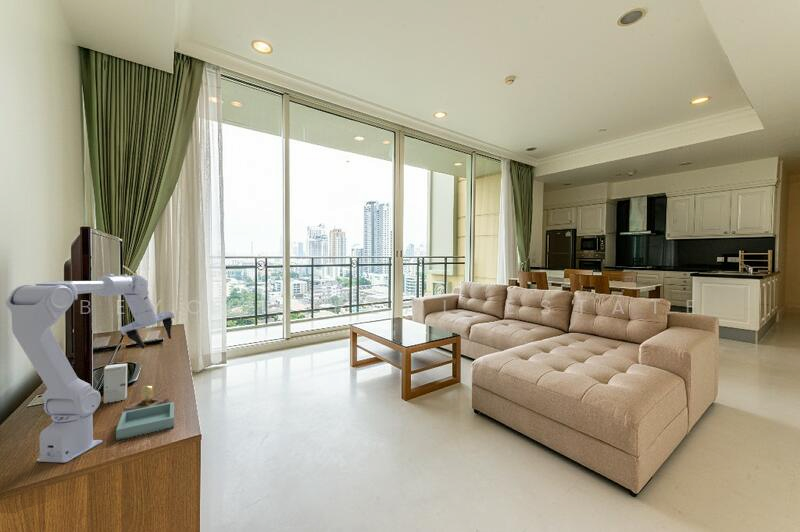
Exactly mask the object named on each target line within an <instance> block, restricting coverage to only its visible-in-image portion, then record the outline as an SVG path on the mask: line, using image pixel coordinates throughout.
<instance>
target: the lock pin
mask: <svg viewBox="0 0 800 532" xmlns="http://www.w3.org/2000/svg"><path fill="white" fill-rule="evenodd" d="M152 397H153V384H147V385H142V386H141V387H140V398H141V399H140V400H141V406H149V405H151V404H152V403H153V402H152Z"/></svg>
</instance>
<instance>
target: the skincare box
mask: <svg viewBox="0 0 800 532" xmlns="http://www.w3.org/2000/svg"><path fill="white" fill-rule="evenodd" d="M127 397H128V363H127V362H125V363H116V364H110V365H109V364H108V365H105V366H104V369H103V404H108V402H109V403H115V401H116V402H121V400H122V401H125V400H126V399H127Z"/></svg>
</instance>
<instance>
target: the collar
mask: <svg viewBox="0 0 800 532" xmlns="http://www.w3.org/2000/svg"><path fill="white" fill-rule="evenodd" d="M169 399H170V398H169V397H153V396H152V402H153V403H152V404H151V405H149V406H141V399H139V400H137V401H135V402H133V403H131V404H129V405H127V406H125V407H123V412H125V411H130V410H135V409H140V408H145V407H150V406H156V405H161V404H166V403H170V400H169Z"/></svg>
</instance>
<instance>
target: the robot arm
mask: <svg viewBox="0 0 800 532" xmlns="http://www.w3.org/2000/svg"><path fill="white" fill-rule="evenodd" d="M148 288H149V281H148V280H147V279H145V278H144V277H143V276H141V275H128V274H124V273H123V274H121V275H115V274H114V273H106V274H105V275H102V276H100V277H98V278H97V279H96V280H59V281H49V282H40V283H34V285H32V284H23V285H19V286H18V287H16V288H14V289H13V290H12V292H11V293H10V295H9V296H8V298H7V299H6V302H5V305H6V306H7V309H8V310H9V311H10V315H11V331H12V334H13V336H14V338H15V339H16V340H17V342H18V343H19V345H20V347H21V348H22V350H23V352H24V353H25V355H26V356H27V358H28V360H29V361H30V363H31V365H32V366H33V368H34V369H35V371H36V372H37V374H38V375H39V377H40V379H41V381H42V382H43V384H44V385H45V387H46V390H45V391H44V392H43V394H42V395H41V399H42V401H43V410H44V413H46V415H48V416H50V420H52V422H51V424H49V425H48V426H47V427H45V428H43V429H42V430H41V432H40V434H39V438H38V439H39V440H38V441H39V444H38V445H39V457H38V458H37V459H36V461H37V462H41V463H42V462H43V463H44V462H47V463H63V464H64V463H68V462H70V461H72V460H74V458H76V457H77V458H78V457H79V456H80V455H82V454H84V453H86V452H88V451H89V450H91V449H93V448H95V447H96V446H98V445H100V444H101V443H103V440H102V439H94V431H93V429H94V425H93V424H94V423H93V422H94V421H93V419H94V417H93V414H94V413H95V412H96V410H97V409H98V408H99V406H100V403H101V398H102V397H101V393H100V391H99V390H97V389H94V388H93V387H92V385H91V383H88V382H86V381H84V380H82V379H80V378H79V377H78V376H77V374H76V372H75V371H74V369H73V367H72V365H71V363H70V361H69V360H68V357H67V356H66V354H65V352H64V351H63V348H62V346H61V345H60V344H59V342H58V340H57V338H56V335H54V333H53V331H52V330H51V328H52V326H53V325H56V323H57V322H58V321H59V320H60V318H62V317H63V315H64V314H65V313H66V312H67V311H68V310H69V308H70V307H71V306H72V305H73V303H74V301H76V300H78V295H80V294H81V295H82V294H90V293H91V294H92V293H96V294H97V295H99V296H102V297H110V296H111V297H113V296H123V297H124V299H125V302H126V303H127V306H128V308H129V311H130V312H131V314H132V317H133V318H134V321H132V322H130V323H128V324H126V325H123V326H121V327H119V330H120V332H121V335H122V336H126V335H127V338H128V339H130V340H131V341H134V342H135V343H136V344H138V345H139V346H140V347H141V349H142V350H143V349H145V348H146V347H145V346H146V345H145V343H144V341H143V340H142V338H141V336H140V333H139V331H138V330H139V329H143V328H149V327H151V326H153V325H155V324H157V323H160V322H162V324H163V327H164V329H165V331H166V334H167V337H168V339H169V340H170V339H172V335H171V334H172V333H171V332H172V331H171V330H172V325H173V321H172V319H175V314H174V313H173V310H170V311H166V312H160V313H157V312H156V310H155V307H154V305H153V303H152V301H151V299H150V296H149V295H150V294H149V293H150V292H149V289H148Z"/></svg>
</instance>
